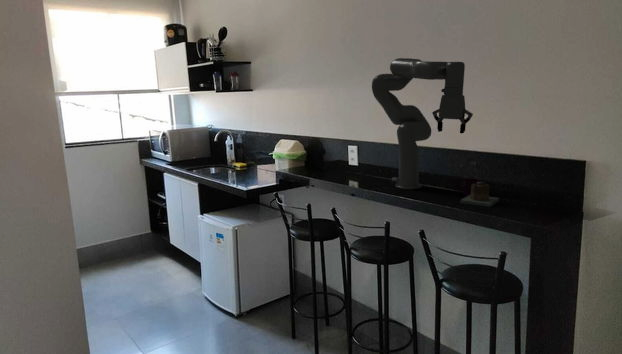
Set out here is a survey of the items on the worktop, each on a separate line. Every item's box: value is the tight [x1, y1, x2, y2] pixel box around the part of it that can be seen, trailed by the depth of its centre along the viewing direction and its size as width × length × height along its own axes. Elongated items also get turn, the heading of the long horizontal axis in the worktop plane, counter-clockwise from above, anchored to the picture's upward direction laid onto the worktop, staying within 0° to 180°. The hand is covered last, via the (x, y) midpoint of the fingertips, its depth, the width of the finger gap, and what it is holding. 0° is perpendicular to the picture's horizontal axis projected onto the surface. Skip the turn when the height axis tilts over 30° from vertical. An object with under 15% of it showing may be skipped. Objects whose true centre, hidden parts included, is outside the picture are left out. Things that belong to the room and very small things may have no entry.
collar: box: [471, 183, 491, 201], centre depth 183 cm, size 7×7×6 cm
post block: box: [459, 181, 500, 208], centre depth 183 cm, size 12×12×8 cm
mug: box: [458, 178, 481, 197], centre depth 197 cm, size 7×10×7 cm
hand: (450, 132), depth 190 cm, fingers open, 9 cm apart
